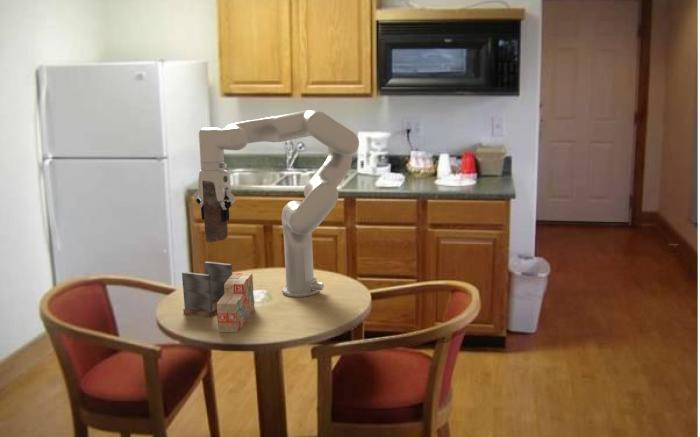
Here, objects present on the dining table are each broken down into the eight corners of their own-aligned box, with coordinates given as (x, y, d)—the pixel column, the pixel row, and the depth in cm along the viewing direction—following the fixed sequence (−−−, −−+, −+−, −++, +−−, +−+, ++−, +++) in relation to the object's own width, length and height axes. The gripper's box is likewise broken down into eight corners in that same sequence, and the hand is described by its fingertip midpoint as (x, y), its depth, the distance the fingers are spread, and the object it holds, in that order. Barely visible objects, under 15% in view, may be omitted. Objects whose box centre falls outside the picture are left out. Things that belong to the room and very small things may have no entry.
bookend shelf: (235, 302, 255) (233, 263, 252) (209, 317, 242) (206, 276, 239) (210, 299, 259) (207, 260, 256) (183, 313, 246) (180, 273, 243)
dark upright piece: (206, 237, 256) (203, 178, 251) (228, 236, 256) (226, 177, 252) (204, 243, 248) (200, 182, 244) (227, 242, 249) (224, 181, 244)
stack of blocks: (238, 333, 229) (235, 293, 226) (218, 332, 230) (215, 293, 227) (254, 308, 250) (252, 272, 247) (235, 308, 250) (233, 272, 247)
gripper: (241, 166, 246) (244, 220, 250) (198, 163, 254) (201, 215, 258) (227, 169, 239) (230, 224, 243) (183, 166, 247) (186, 219, 251)
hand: (215, 219), depth 251 cm, fingers closed on dark upright piece, 7 cm apart
